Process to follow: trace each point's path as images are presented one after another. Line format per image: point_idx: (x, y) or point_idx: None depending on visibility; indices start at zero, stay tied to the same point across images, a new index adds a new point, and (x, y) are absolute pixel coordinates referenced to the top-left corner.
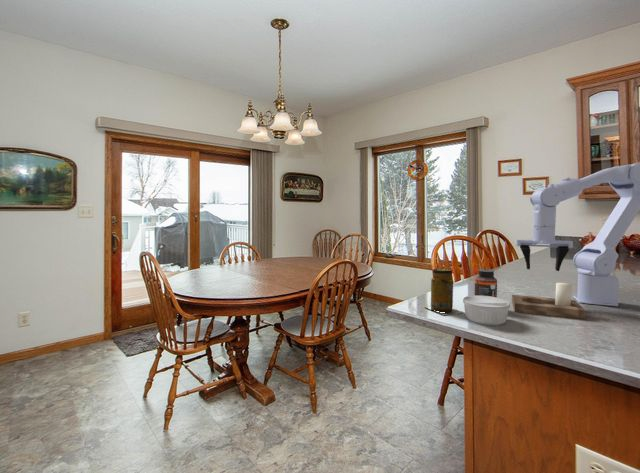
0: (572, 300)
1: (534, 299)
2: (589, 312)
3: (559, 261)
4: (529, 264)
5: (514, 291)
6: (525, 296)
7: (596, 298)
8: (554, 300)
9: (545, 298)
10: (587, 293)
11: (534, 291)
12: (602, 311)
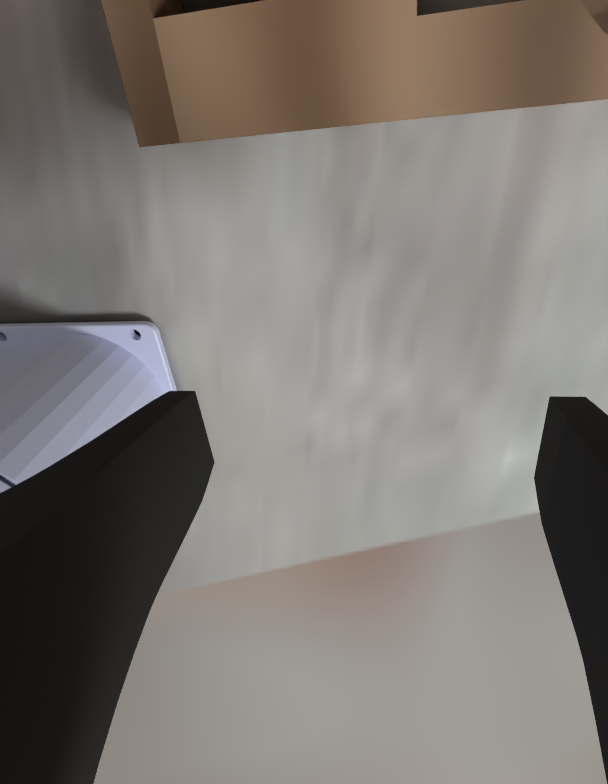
0: (154, 127)
1: (488, 6)
2: (72, 46)
3: (88, 464)
4: (590, 433)
5: (529, 499)
6: (575, 67)
7: (52, 349)
8: (294, 18)
9: (372, 80)
10: (83, 373)
11: (394, 530)
12: (15, 144)
